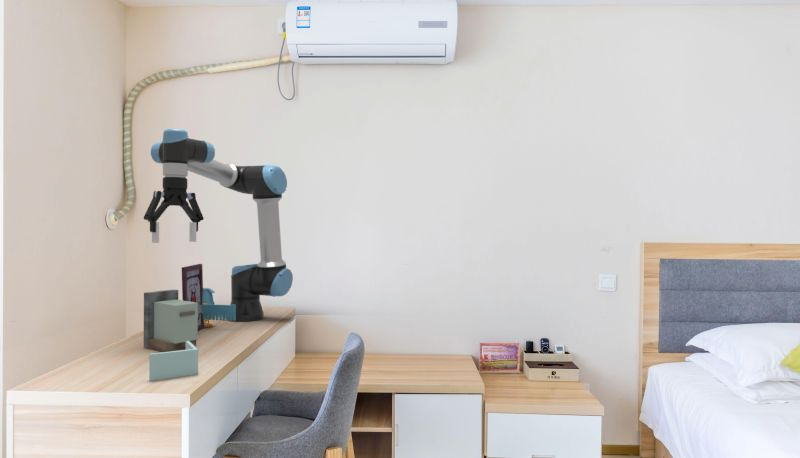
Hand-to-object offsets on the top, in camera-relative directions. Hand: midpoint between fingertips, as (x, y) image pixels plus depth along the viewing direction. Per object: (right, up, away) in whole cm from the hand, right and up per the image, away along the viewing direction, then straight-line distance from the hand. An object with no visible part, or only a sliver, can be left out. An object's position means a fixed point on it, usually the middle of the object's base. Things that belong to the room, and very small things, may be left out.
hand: (174, 242), depth 181 cm
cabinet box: (0, -32, 0) cm, 32 cm away
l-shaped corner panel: (+11, -36, -29) cm, 47 cm away
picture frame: (-7, -34, +26) cm, 44 cm away
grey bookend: (-2, -35, +2) cm, 35 cm away
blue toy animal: (-3, -34, +36) cm, 50 cm away
